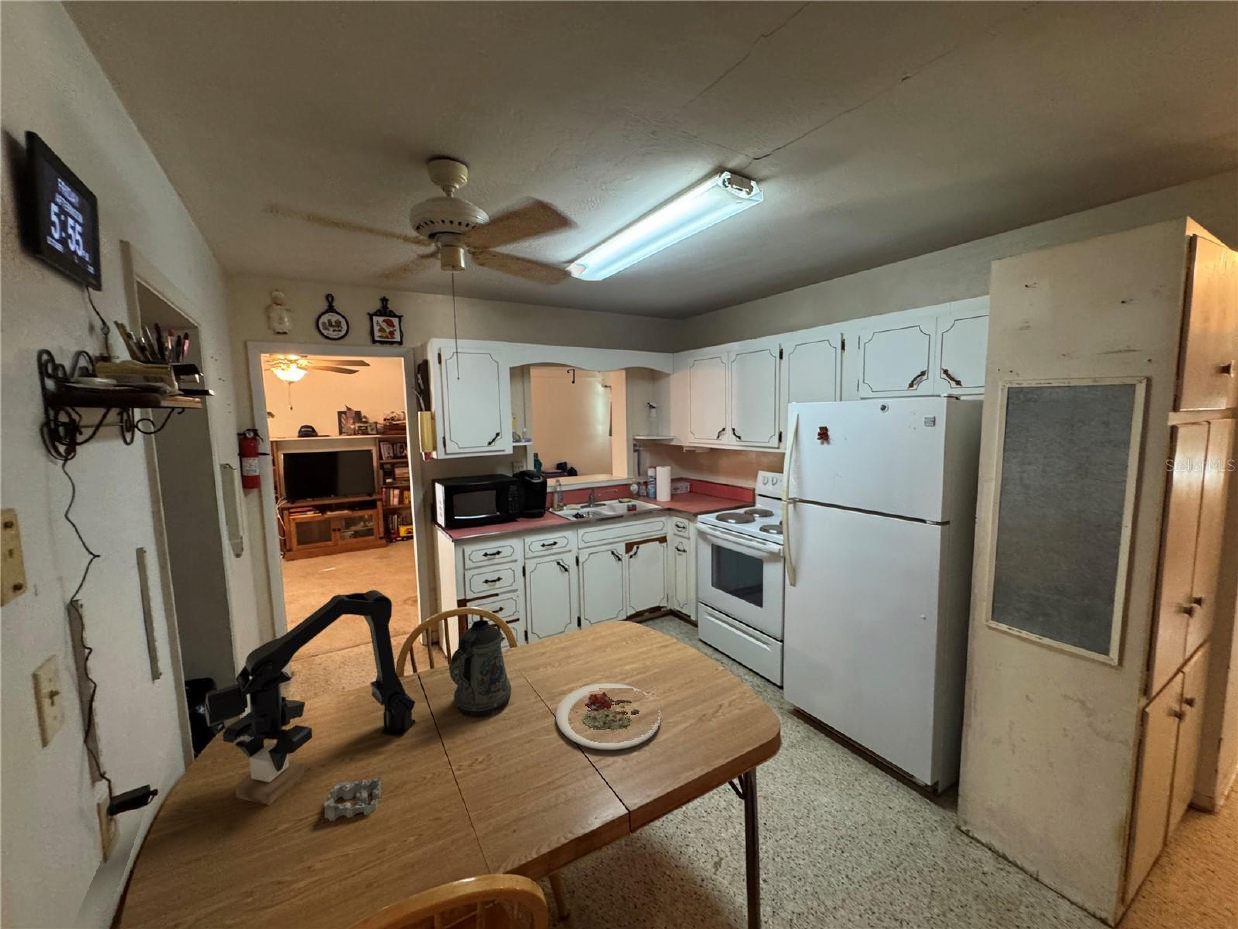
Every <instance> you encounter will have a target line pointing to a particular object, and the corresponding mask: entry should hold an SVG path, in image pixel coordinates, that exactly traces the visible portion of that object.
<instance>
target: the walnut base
mask: <svg viewBox="0 0 1238 929" xmlns="http://www.w3.org/2000/svg"><path fill="white" fill-rule="evenodd" d="M304 768H305V767H304V763H301V762H297V761H291V760H289V767H288V768H286V769H285V770H284V771H283V772H281V773H280V774H279V775H278V776H277V777H275V778H274V779H273V780H272V781H271V782H266V781H261V780H256V779H252V778H251V773H249V774H248V775H247V776H246V777H244V778H243V779H242V780H240V781H238V783H237V784H235V798H237V799H241V800H246V801H250V802H255V803H258V804H263V805H267V806H271V805H272V804H273V803H274V802H275V801H276V800H277V799H279V798H280V797H281V796H282V795H283V794H284V793H285V792H287V791H288V790H290V789H291V787H292V786H294V785H295V784H296V783H297V782H298V781H299V780H300V779H302V778H303V777H304V776H305V773H304V772H305V770H304Z"/></svg>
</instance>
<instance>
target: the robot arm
mask: <svg viewBox="0 0 1238 929" xmlns="http://www.w3.org/2000/svg"><path fill="white" fill-rule="evenodd" d="M392 612H393V603H392V600H391V599H390V598H389V597H388V596H386V595H385V594H383V592H380V591H379V590H376V589H371V590H367V591H366V592H353V593H349V594H335V595H334V596H332V597H331V598H330V599H329V601H327V602H326V603H324V604H322V606H320V607H319V608H318V609H317V610H316V611H314V612H312V614H310V615H309V616H307V618H305V619H303V620H302V621H301V622H300V623H298V624H297V625H295V626H294V627H293V628H292V629H291V630H289V631H288V632H287V633H285V634H283V635H282V636H280V637H278V638H275V639H271V640H269V641H267V642H265V643H263V644H262V645H260V646H259V647H257V648H255V649H253V650H252V651H251V652H250V653H249V654H248V655H247V656H246V659H245V663H244V666H243V667H242V669H241V670H240V671H239V673H238V675H237V676H236V677H235V679H234V681H235V683H236V684H233V685H229V686H227V687H223V688H220V689H214V690H211V691H208V692H206V693H205V697H206V698H205V703H204V713H205V719H206V722H207V726H208V727H211V726H214V725H216V724H219V723H222V722H224V721H228V720H231V719H233V718H236V717H240V716H242V715H243V714H244V713H246V709H248V706H249V707H250V708H249V709H250V711H249V712H248V713H246V714H245V715H243V717H241V718H239V719H237V720H236V721H234V722H233V723H231V724H230V725H228V726H227V727H226V728H225V730H223V733H222V738H223V739H222V740H223V742H224V743H225V742H226V743H230V744H234V743H235V742H236V743H235V744H234V746H235V747H237V748H238V749H240V751H242V753H244V754H245V755H246V757H247V758H249V759H250V757H252V756H253V755H254V754H256V753H257V752H258V751H260V750H261V749H262V748H264V747H265V740H266V741H274V740H276V741H275V742H276V743H275V744H276V746H275V747H273V748H272V749H271V750H269V751H268V752H269V755H270V757H271V759H272V762H273V764H274V767H275V769H276V770H277V771H278V772H279V771H280V770H281V769H282V768H283V765H284V763H285V760H286V757H287V754H288V755H290V754H293V753H295V752H296V751H298V750H299V749H300V748H301V747H302V746H304V745H305V744H306V743H307V742H308V741H310V740H311V739H312V738H313V728H311V727H309V726H305V725H299V724H295V725H294V726H292V727H290V728H288V729H285V728H284V729H283V727H287V726H288V725H290V724H291V720H294V719H298V718H302V717H303V716H304V712H305V711H304V710H305V706H306V702H305V701H301V700H293V699H287V697H286V696H282V687H281V684H283V683H286V682H289V681H291V680H292V677H291V676H290V674H289V673H288V672H287V671H284V669H285V668H286V667H287V665H289V664H290V662H291V660H292V658H293V657H294V656H295V654H296V653H297V652H298V651H299V650H300V649H301V648H303V647H304V646H305V645H307V644H308V643H309V642H310V641H311V640H313V639H314V638H315V637H317V636H318V635H319V634H320V633H322V632H323V631H324V630H325V629H327V628H328V627H330V626H331V625H332V624H333V623H334V622H336V621H337V620H338V619H340V618H341V617H342V616H344V615H345V616H346V615H353V616H362V617H363V618H364V619H365V621H366V623H367V625H368V627H369V632H370V638H371V645H372V650H373V656H374V662H375V663H374V664H375V669H376V674H377V676H376V678H375V680H374V681H371V682H369V685H370V688H371V696H372V698H374V699H375V700H376V701H377V703H379V705H380V706H382V707H383V708H384V709H383V710H384V711H383V713H382V714H383V715H382V716H383V717H382V718H383V728H382V729H381V730H380V733H381V734H385V735H391V736H396V737H403V736H404V735H405V734H406V733H407V732H408V731H409V730H410V729H411V728H412V727H413V726H414V724H416V722H417V721H416V719H413V714H412V713H413V711H412V710H414V708H415V704H416V701H415V700H414V699H413V698H412V697H411V696H410V695H409V694H408V693H407V692H406V691H405V688H404V685H403V683H402V681H401V679H400V678H399V676H398V673H397V671H396V664H395V658H394V651H393V646H392V639H391V632H390V621H391V619H392V614H393V613H392ZM250 677H251V678H250ZM248 695H249V704H248ZM237 740H238V741H237Z"/></svg>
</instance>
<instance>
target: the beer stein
mask: <svg viewBox="0 0 1238 929" xmlns="http://www.w3.org/2000/svg"><path fill="white" fill-rule="evenodd" d="M503 638H504V636H503V633H502V631H500V629H499V628H497V627H495V626H493V625H491V624H490V623H489V621H488V620H485V619H478V620H476V621H474V622H472V624H471V627H469V628H467V630H465V631H464V632H463V634H462V635H461V636H460V637H459V640H458V645H457V649H456V650H455V651H454V652H453V654H452V655H451V658H450V662H449V666H448V671H449V676H450V678H451V680H452V682H453V683H454V684H456V689H455V691H454V693H453V699H454V704H455V708H456V710H457V712H458V713H460V715H462V716H463V717H467V718H471V719H472V718H475V719H478V718H479V719H481V718H482V719H483V718H486V717H491V716H494V715H496V714H498V713H500V712H502V711H503V710H504V709H505V708H506V707H507V706H508V705H509V702H510V699H511V695H512V685H511V683H510V680H509V678H508V675H507V671H506V666H505V662H504V656H503V651H502V645H501V644H502V643H503V642H502V641H503Z"/></svg>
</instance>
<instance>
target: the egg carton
mask: <svg viewBox="0 0 1238 929" xmlns="http://www.w3.org/2000/svg"><path fill="white" fill-rule="evenodd" d="M381 785H382V776H379V777H376V778H372V779H367V780H365V779H362V780H357V781H356V780H354V781H352V782H348V781H343V782H340V783H337V784H336V785H335V786H333V788H332V789H331V790H330V791H329V795H328V796H327V798H326V802H324V804H323V805H322V808H324V818H325V819H328V820H329V821H330V822H334V821H336V820H337V819H338V818H339V817H342V816H346V819H350V818H353V817H354V816H355V815H356V814H359V813H363V815H364V816H365V815H366V816H367V815H370V814H372V811H375V810H377V809H378V807H379V806H378V798H380V797H381V795H382V793H381ZM370 794H372V801H369V795H370ZM341 797H342V798H343V800H350V799H352V798H354V797H355V805H354V806H353V807H351V806H352V804H351V803H350V802H344V803H338V804H337V803H335V801H337V799H339V798H341ZM368 803H369V805H368Z"/></svg>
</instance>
